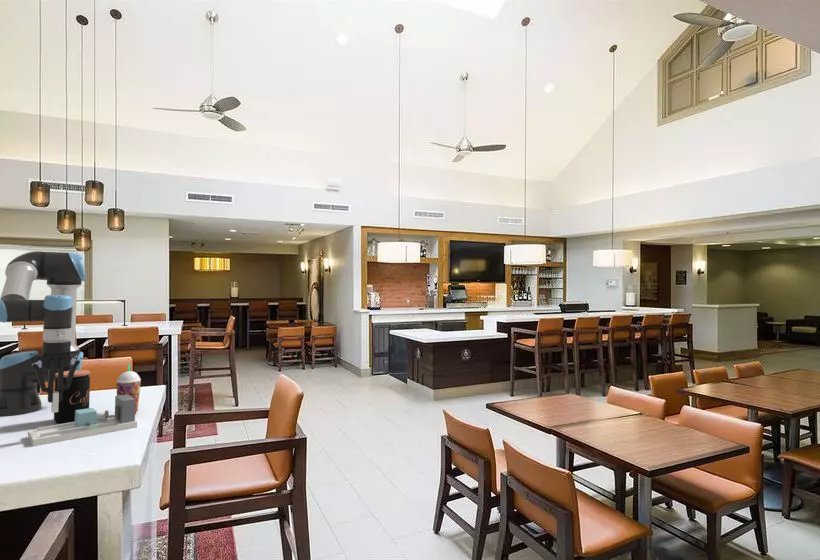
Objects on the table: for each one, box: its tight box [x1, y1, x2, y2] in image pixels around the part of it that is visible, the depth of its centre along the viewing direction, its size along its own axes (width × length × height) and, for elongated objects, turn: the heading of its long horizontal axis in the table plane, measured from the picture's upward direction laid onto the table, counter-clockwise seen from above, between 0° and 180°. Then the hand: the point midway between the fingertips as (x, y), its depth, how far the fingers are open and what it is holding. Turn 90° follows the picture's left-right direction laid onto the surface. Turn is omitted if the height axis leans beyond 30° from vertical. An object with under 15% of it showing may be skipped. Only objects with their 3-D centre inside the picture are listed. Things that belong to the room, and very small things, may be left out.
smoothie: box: [115, 363, 142, 415], centre depth 178 cm, size 8×8×20 cm
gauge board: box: [27, 394, 138, 447], centre depth 156 cm, size 12×29×10 cm, turn 136°
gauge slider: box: [75, 407, 110, 427], centre depth 157 cm, size 9×9×5 cm
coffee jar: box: [53, 369, 91, 424], centre depth 170 cm, size 11×11×18 cm
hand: (54, 411), depth 151 cm, fingers closed
